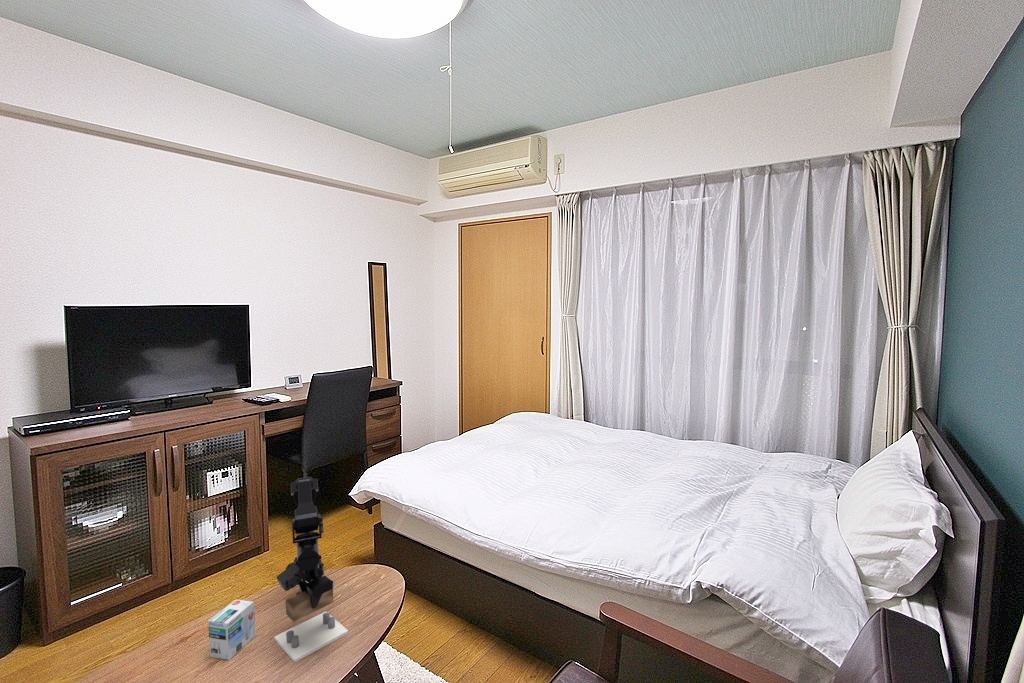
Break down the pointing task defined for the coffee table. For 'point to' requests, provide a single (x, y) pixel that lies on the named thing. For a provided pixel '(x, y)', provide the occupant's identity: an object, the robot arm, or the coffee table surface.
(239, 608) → the light bulb box
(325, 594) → the walnut board
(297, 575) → the robot arm
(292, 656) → the peg stand
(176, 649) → the coffee table surface
